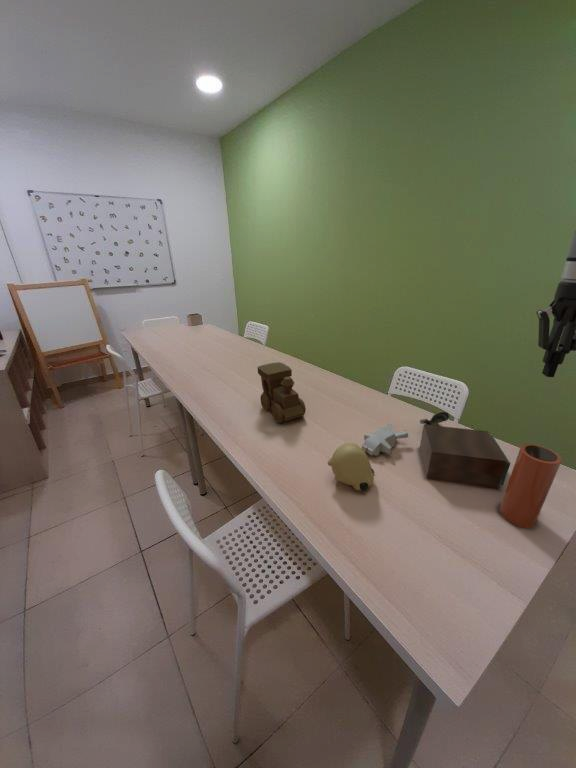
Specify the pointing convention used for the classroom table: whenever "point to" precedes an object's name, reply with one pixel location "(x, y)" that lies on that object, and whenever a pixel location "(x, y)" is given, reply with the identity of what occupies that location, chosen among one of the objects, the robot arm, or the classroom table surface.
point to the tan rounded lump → (352, 466)
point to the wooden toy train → (280, 392)
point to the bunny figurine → (382, 440)
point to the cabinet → (461, 456)
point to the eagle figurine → (436, 419)
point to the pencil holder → (529, 484)
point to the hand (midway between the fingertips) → (547, 375)
